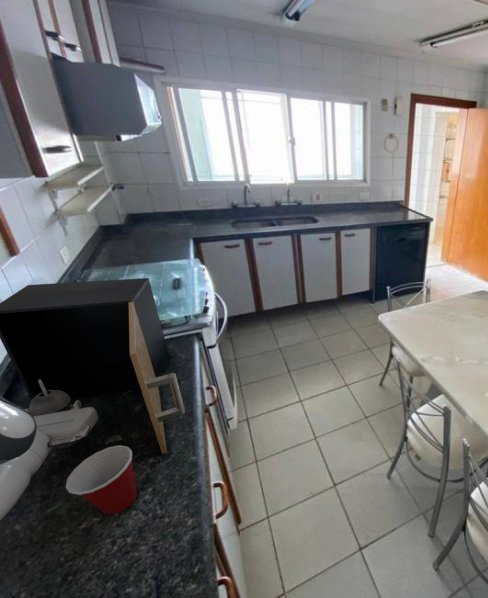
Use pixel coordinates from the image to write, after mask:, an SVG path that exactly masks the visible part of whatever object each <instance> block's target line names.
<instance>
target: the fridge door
mask: <svg viewBox="0 0 488 598" xmlns="http://www.w3.org/2000/svg"><path fill="white" fill-rule="evenodd" d="M129 341H130V357H131V360H132V363H133V366H134V373H135V376H136V378H137V381H138V384H139V387H140V390H141V394H142V396H143V400H144V403H145V406H146V409H147V412H148V415H149V418H150V421H151V424H152V427H153V430H154V433H155V436H156V439H157V443H158V445H159V449H160V451H161V454H162V455H165V454H166V452H167V453H168V450H167V442H166V434H165V427H164V421H167V420H170V419H172V418H176V417H179V416H181V415H184V414H185V413H186V409H185V405H184V401H183V397H182V393H181V390H180V387H179V382H178V379H177V375H176V373H174V372H172V373H167V374H164V375H161V376H160V377H157V378H156V377H155V374H154V371H153V367H152V364H151V361H150V357H149V354H148V350H147V347H146V344H145V340H144V337H143V334H142V330H141V327H140V323H139V320H138V317H137V313H136V310H135V307H134V303H133V302H129ZM168 384H169V387H170V391H171V394H172V397H173V401H174V404H175V407H173V408H170V409H167V410H164V411H162V404H161V396H160V388H159V387H161V386H165V385H168Z"/></svg>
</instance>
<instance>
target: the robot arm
mask: <svg viewBox="0 0 488 598" xmlns="http://www.w3.org/2000/svg"><path fill="white" fill-rule="evenodd" d="M81 407H82V401H80V400H77V401H72V402H71V403H70V404H69V408H70V410H69V411H63V412H57V413H51V414H45V415H39V416H32V415H31V414H30V413H29V407H28V408H22V407H21V406H18V404H15V403H13V402H12V401H9V400H8V399H6V398H5V397H4V396H2V395H0V521H2V520H3V518H5V516H7V515H8V513H9V512H10V511H11V510H12V509H13V507H14V506H16V504H17V502H18V501H19V500H20V498H21V497H22V495H24V492H25V491H26V489H27V488H28V486H29V484H30V482H31V478H32V476H33V475H35V474H36V473H37V472H38V471H39V470H40V468H41V467H42V465H43V463H44V462H45V460H46V459H47V458H48V456H49V454H50V453H51V451H52V450H53V447H56V446H57V445H61V444H65V443H72V442H75V441H77V440H78V441H79V440H81V439H83V438H85V437H87V436H88V434H89V433H90V432H91V430H92V429H93V428H94V426H95V425H96V424H97V422H98V421H99V414H98V411H97V409H95V407H93V406H87V407H82V408H81ZM78 441H77V442H78Z"/></svg>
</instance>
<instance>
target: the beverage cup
mask: <svg viewBox="0 0 488 598" xmlns="http://www.w3.org/2000/svg"><path fill="white" fill-rule="evenodd" d="M38 382H39V384H40V387H41V389H42V391H43V392H41V393H40V394H38V395H36V396H35V397H34V398H33V399H32V400H30V403H29V405H28V408H29V413H30V414H31V415H32V416H39V415H45V414H51V413H57V412H63V411H69V410H70V408H69V404H70V403H71V402H72V399H71V397H69V395H68V394H67V393H65V392H63V391H60V390H47V391H46V390H45V387H44V385H43V383H42V381H41V380H38ZM78 441H79V440H77V441H75V442H72V443H65V444H61V445H57V446H55V447H56V448H57V449H66V448H69V447H71V446H73V445H75V444H76V443H77V442H78Z"/></svg>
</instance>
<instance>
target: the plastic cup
mask: <svg viewBox="0 0 488 598" xmlns="http://www.w3.org/2000/svg"><path fill="white" fill-rule="evenodd" d="M65 483H66V484H65V489H66V491H68V493H69V494H72V495H78V496H80V497H81V498H84V499H85V500H87V501H88V502H89V503H90V504H92V505H93V506H94V507H96V508H97V509H98V510H100V511H101V512H102V513H104V514H105V515H114V514H116V515H117V514H119V513H121V512H123V511H125V510H126V509H127V508H129V507H130V506H131V505H132V504H133V503H134V501H135V500H136V498H137V496H138V490H137V485H136V484H137V481H136V476H135V472H134V466H133V450H132V449H131V448H130V447H129V446H126V445H114V446H109V447H106V448H104V449H102V450H99V451H97V452H95V453H94V454H92V455H90V456H89V457H87V458H86V459H84V460H82V461H81V463H79V464H78V465H77V466H76V467H75V468H74V469H73V471H71V473H70V474H69V476H68V477H67V479H66V482H65Z"/></svg>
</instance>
